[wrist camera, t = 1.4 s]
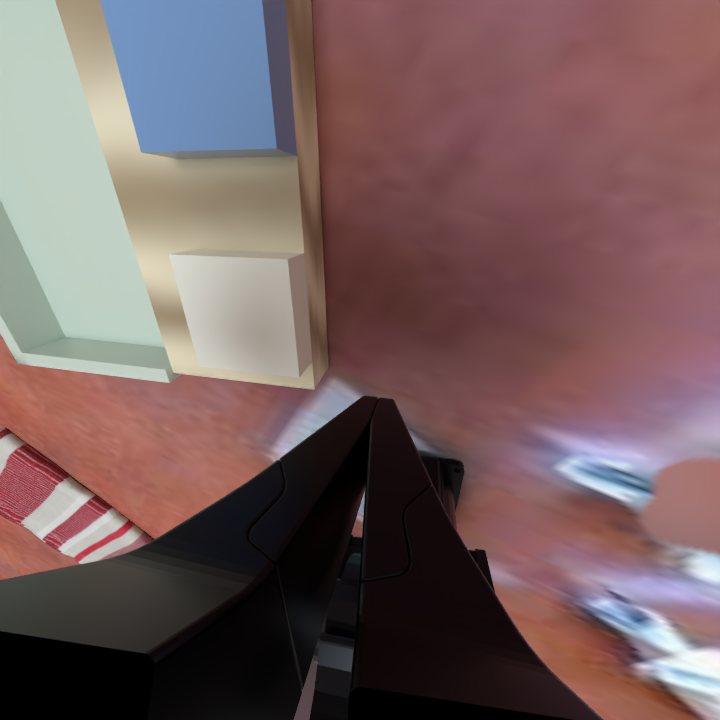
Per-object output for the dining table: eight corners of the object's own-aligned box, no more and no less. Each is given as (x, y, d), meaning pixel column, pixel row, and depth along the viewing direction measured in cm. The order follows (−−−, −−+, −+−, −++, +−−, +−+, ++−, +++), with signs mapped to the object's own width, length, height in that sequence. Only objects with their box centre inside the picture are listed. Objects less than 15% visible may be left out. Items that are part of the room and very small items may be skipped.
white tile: (312, 360, 18) (299, 377, 16) (220, 351, 19) (198, 366, 17) (304, 253, 15) (287, 259, 13) (197, 249, 16) (168, 254, 14)
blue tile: (297, 156, 13) (276, 148, 11) (176, 159, 14) (141, 152, 12) (281, -53, 10) (251, -106, 9) (134, -30, 11) (80, -73, 10)
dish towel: (123, 574, 46) (106, 593, 44) (-18, 474, 41) (-45, 491, 39) (175, 547, 39) (159, 569, 37) (12, 422, 34) (-19, 438, 31)
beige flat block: (328, 367, 21) (314, 389, 19) (202, 353, 23) (173, 372, 20) (308, -72, 12) (274, -150, 9) (101, -38, 14) (24, -96, 11)
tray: (204, 359, 23) (169, 382, 20) (67, 344, 25) (17, 363, 22) (97, -55, 14) (1, -131, 11) (-106, -19, 16) (-234, -73, 13)
